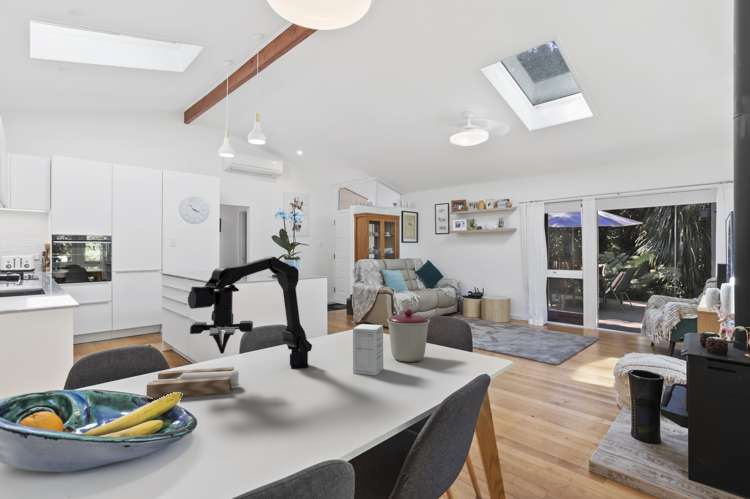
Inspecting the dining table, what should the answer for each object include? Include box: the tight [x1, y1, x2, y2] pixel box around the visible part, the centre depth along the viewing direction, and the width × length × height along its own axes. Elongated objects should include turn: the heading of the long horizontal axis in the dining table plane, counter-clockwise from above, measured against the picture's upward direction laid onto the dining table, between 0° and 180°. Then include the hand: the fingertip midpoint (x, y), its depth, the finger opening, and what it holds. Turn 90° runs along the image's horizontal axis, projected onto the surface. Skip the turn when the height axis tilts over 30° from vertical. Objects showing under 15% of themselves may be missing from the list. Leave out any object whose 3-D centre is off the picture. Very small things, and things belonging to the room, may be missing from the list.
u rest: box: [146, 366, 235, 401], centre depth 120 cm, size 23×13×4 cm, turn 104°
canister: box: [386, 308, 431, 363], centre depth 157 cm, size 18×18×21 cm
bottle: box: [152, 369, 240, 388], centre depth 119 cm, size 5×5×25 cm
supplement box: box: [352, 323, 384, 376], centre depth 141 cm, size 10×9×17 cm
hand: (222, 353), depth 122 cm, fingers closed
